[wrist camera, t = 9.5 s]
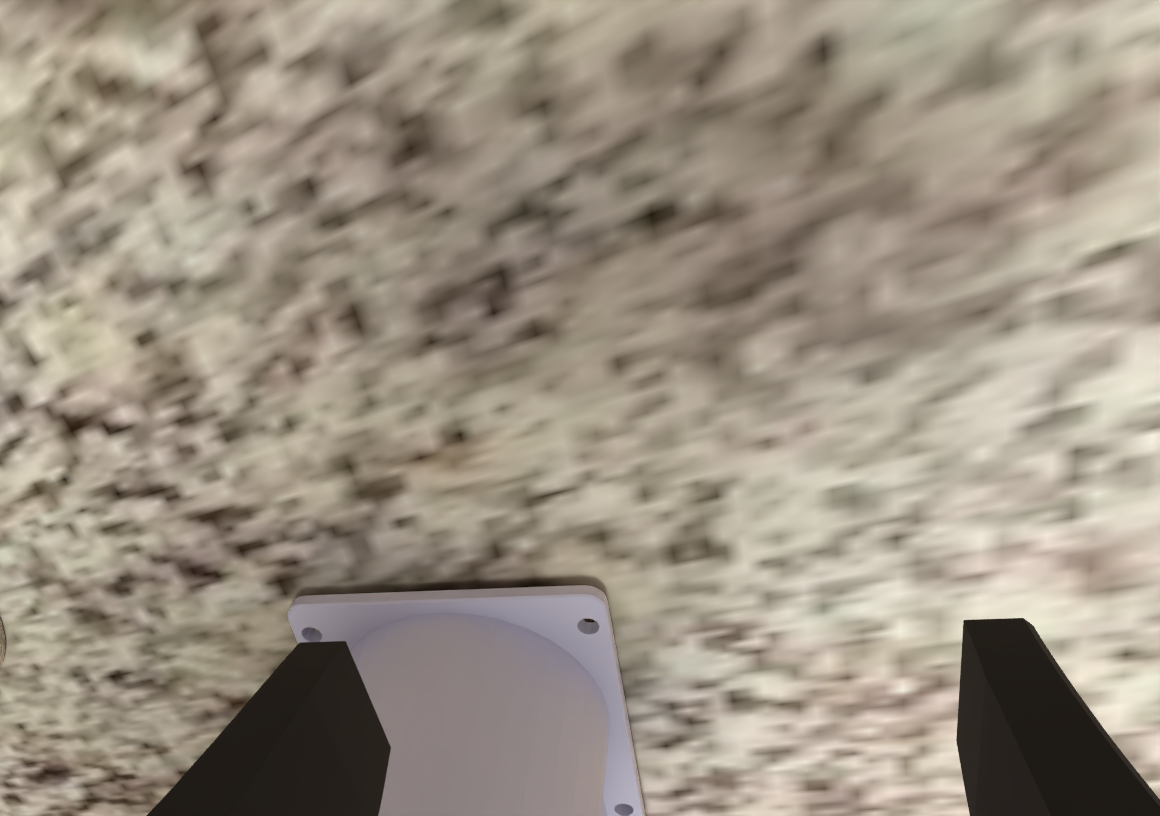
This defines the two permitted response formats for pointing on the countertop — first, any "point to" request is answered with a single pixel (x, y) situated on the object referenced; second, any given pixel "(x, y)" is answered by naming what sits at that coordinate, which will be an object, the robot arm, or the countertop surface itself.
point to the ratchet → (2, 643)
